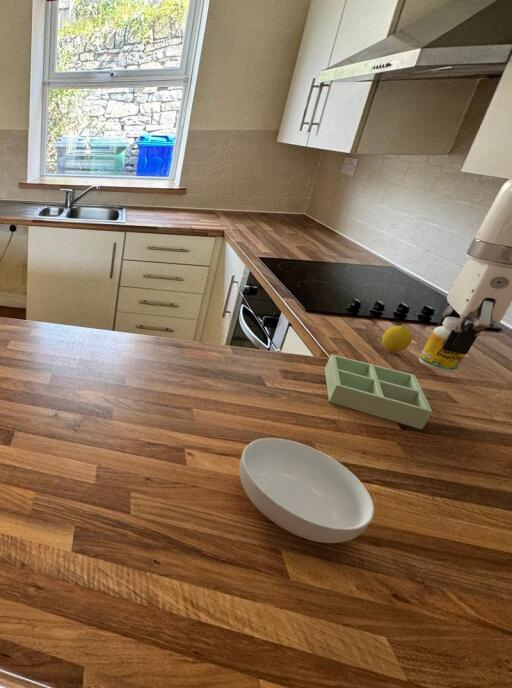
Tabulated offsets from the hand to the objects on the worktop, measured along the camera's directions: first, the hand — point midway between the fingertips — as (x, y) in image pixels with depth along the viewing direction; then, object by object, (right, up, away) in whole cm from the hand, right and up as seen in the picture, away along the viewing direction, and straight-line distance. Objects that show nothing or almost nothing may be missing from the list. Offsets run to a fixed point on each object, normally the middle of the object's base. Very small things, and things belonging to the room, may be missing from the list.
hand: (448, 343), depth 76 cm
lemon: (+21, -6, +33) cm, 40 cm away
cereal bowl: (-39, -26, -11) cm, 48 cm away
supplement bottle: (0, -5, +2) cm, 5 cm away
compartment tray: (-1, -14, +15) cm, 21 cm away
